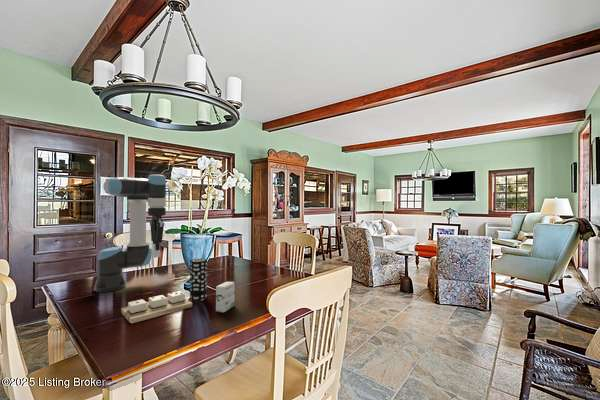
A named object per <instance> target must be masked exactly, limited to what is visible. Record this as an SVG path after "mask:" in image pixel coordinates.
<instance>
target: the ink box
mask: <svg viewBox="0 0 600 400" xmlns="http://www.w3.org/2000/svg"><path fill="white" fill-rule="evenodd" d="M235 285H236V284H235V282H234V281H225V282H223V283H221V284H218V285H216V286H215V312H219V313H225V312H227V311H228V310H230V309H232V308H234V307H235V305H236V304H235V301H236V300H235V298H236V297H235V295H236V294H235V287H236V286H235Z"/></svg>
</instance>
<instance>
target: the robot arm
mask: <svg viewBox="0 0 600 400" xmlns="http://www.w3.org/2000/svg"><path fill="white" fill-rule="evenodd" d="M102 187H103V190H104V191H105V193H106V194H108V195H109V196H110V195H111V196H114V197H121V198H126V200H127V201H128V202H129V243H127V245H126V248H123V246H113V247H108V248H104V249H101V250H99V252H98V257H97V260H98V269H97V273H98V275H97V279H96V281H95V284H94V287H93V291H94V292H95V291H96V292H95V293H110V292H109V291H111V292H115V291H116V292H117V291H120V290H122V289H125V288H126V287H127V283H126V278H125V277H124V273H123V270H124V269H131V268H139V267H145V266H147V265H149V264H150V263H151V260H152V257H153V258H161V243H163V237H164V227H165V222H163V216H166V215H167V212H166V211H167V209H166V207H167V198H166V197H167V177H166V176H165V175H163V174H149V175H148V176H147V178H143V177H125V176H123V177H121V176H119V177H113V178H112V177H111V178H109V179H106V180H105V181H104V183H103V186H102ZM147 206H148V208H147ZM147 215H148V216H149V217H151V220H150V221H149V226H150V239H151V240H150V241H151V242H152V246H150V244H149V242H147Z"/></svg>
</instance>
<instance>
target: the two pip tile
mask: <svg viewBox="0 0 600 400" xmlns="http://www.w3.org/2000/svg"><path fill="white" fill-rule="evenodd" d="M148 302H149V305H150V306H151V307H152V308H151V309H156V308H160V307H164V306H163V305H167V297H166V296H165V295H163V294H161V295H156V296H155V295H154V296H152V297H151V296H150V297H148Z"/></svg>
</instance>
